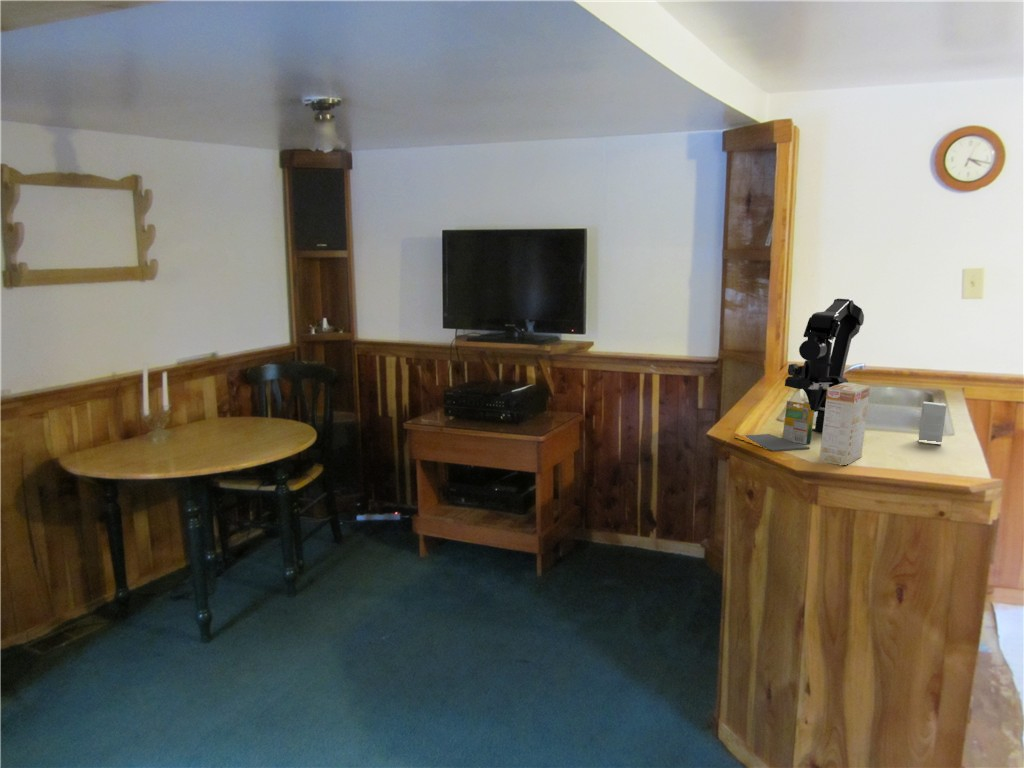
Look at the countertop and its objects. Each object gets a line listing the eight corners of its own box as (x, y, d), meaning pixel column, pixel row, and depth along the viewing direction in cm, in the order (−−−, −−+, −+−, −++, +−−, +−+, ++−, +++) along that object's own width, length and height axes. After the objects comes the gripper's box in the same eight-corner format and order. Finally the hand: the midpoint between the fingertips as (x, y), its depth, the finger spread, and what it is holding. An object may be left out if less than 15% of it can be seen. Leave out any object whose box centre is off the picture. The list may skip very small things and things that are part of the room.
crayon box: (811, 443, 220) (815, 403, 218) (805, 445, 218) (810, 404, 216) (787, 438, 225) (791, 399, 223) (782, 439, 223) (786, 400, 221)
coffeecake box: (835, 451, 211) (843, 381, 208) (862, 457, 207) (871, 385, 204) (817, 461, 200) (826, 387, 197) (846, 466, 195) (855, 391, 192)
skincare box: (940, 443, 229) (945, 403, 227) (941, 445, 226) (947, 405, 224) (917, 440, 232) (922, 401, 230) (918, 442, 228) (923, 403, 226)
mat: (769, 435, 227) (769, 434, 227) (809, 449, 213) (809, 447, 213) (733, 437, 222) (733, 436, 222) (772, 451, 208) (772, 449, 208)
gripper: (822, 354, 230) (816, 405, 233) (774, 354, 223) (768, 407, 225) (852, 359, 220) (845, 413, 223) (802, 359, 213) (796, 415, 215)
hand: (813, 411), depth 222 cm, fingers closed
